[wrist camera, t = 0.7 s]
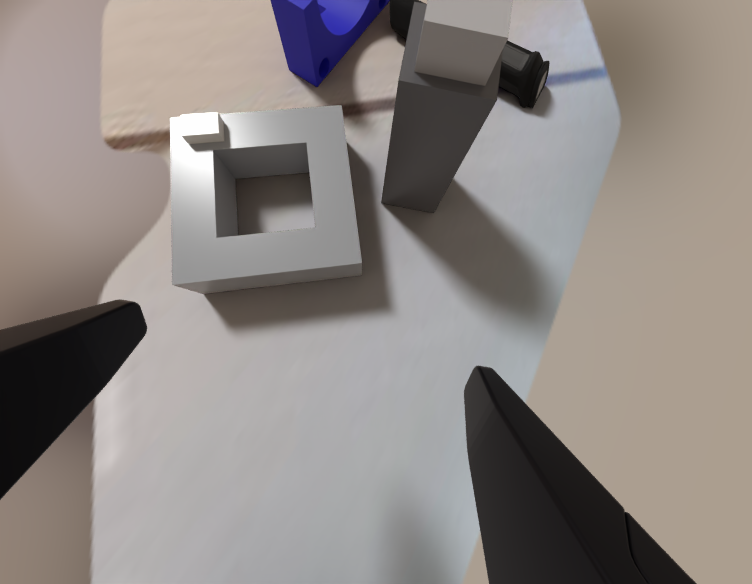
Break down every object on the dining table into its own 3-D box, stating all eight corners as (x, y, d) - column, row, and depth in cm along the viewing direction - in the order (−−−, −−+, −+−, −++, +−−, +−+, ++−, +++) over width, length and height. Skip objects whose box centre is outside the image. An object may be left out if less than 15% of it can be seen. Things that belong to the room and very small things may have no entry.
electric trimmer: (398, 15, 27) (403, -28, 24) (544, 85, 26) (568, 50, 23) (380, 43, 26) (382, 3, 23) (528, 115, 26) (551, 84, 22)
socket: (361, 275, 22) (362, 259, 18) (203, 293, 21) (163, 282, 17) (344, 139, 24) (340, 95, 20) (198, 151, 23) (161, 108, 19)
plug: (433, 213, 23) (522, 54, 10) (381, 202, 23) (405, 30, 10) (440, 165, 24) (532, -36, 11) (390, 155, 24) (423, -60, 11)
